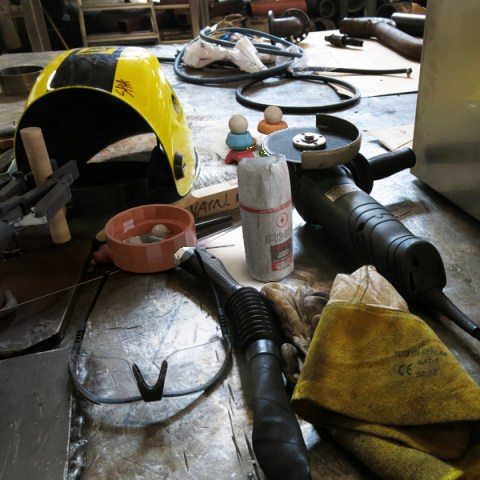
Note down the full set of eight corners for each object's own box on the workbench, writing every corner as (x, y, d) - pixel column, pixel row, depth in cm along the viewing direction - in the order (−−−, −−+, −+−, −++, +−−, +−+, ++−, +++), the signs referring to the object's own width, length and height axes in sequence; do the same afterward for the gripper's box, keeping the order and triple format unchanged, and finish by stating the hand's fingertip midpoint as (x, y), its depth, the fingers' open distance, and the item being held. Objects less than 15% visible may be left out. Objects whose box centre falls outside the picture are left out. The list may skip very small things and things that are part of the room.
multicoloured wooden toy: (241, 139, 135) (239, 95, 128) (294, 151, 128) (294, 104, 121) (199, 159, 121) (194, 110, 114) (255, 174, 114) (253, 122, 108)
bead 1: (122, 254, 81) (119, 239, 80) (137, 246, 83) (134, 231, 82) (133, 260, 80) (130, 244, 78) (148, 252, 82) (145, 237, 80)
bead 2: (149, 240, 85) (146, 226, 84) (162, 234, 87) (160, 219, 86) (160, 246, 84) (157, 231, 82) (173, 239, 86) (171, 224, 84)
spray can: (250, 288, 75) (243, 170, 65) (238, 261, 82) (230, 149, 72) (301, 278, 78) (302, 163, 68) (285, 252, 84) (284, 144, 74)
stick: (49, 240, 76) (16, 130, 67) (65, 233, 78) (34, 125, 69) (58, 245, 75) (25, 134, 66) (74, 238, 77) (44, 129, 68)
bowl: (94, 257, 81) (86, 226, 78) (161, 225, 92) (156, 197, 89) (148, 287, 75) (142, 255, 72) (214, 249, 85) (211, 219, 82)
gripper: (-93, 266, 58) (24, 186, 78) (31, 275, 58) (117, 192, 78) (-120, 212, 55) (10, 142, 75) (12, 221, 54) (108, 148, 74)
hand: (65, 167), depth 76 cm, fingers closed on stick, 3 cm apart
